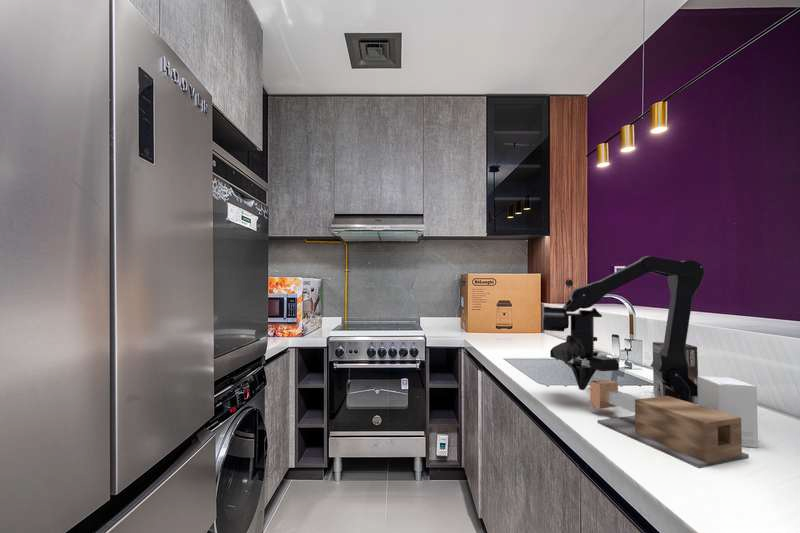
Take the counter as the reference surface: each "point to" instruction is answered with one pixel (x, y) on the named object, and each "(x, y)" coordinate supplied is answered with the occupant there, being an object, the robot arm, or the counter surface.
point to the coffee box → (692, 367)
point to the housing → (683, 430)
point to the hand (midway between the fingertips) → (582, 389)
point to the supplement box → (732, 403)
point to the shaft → (610, 395)
